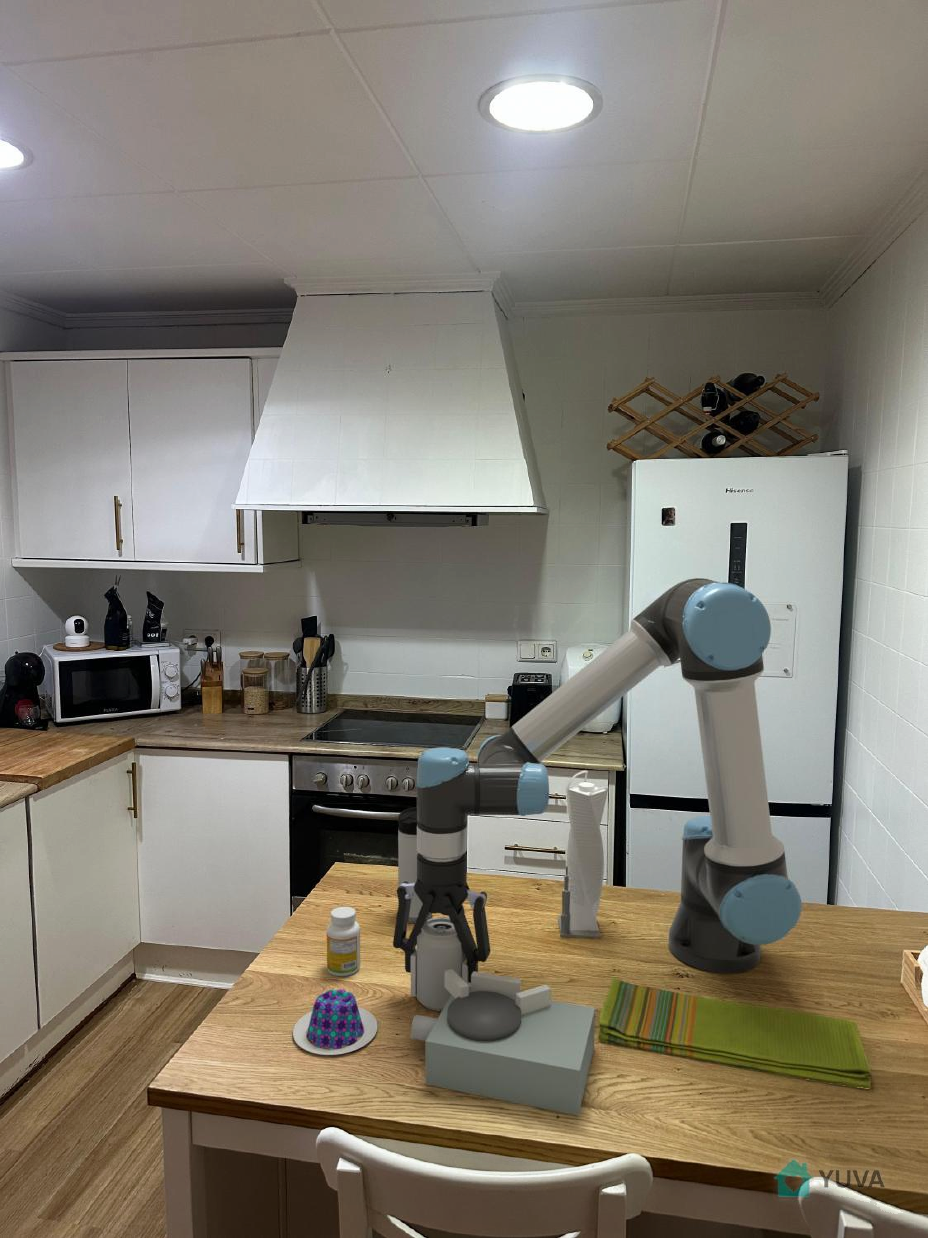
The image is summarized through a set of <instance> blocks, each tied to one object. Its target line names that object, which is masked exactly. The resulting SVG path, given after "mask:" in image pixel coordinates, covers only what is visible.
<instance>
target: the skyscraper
mask: <svg viewBox="0 0 928 1238" xmlns="http://www.w3.org/2000/svg"><path fill="white" fill-rule="evenodd" d="M582 774H585V775H584V780H583V781H582V782H579V783H578V785H575V786H573V787H570V786H571V784H572V782H573V780H574V779H575V778H577V777H578V776H579V775H582ZM588 775H589V771H588V770H587V769H586V770H582V771H581V770H580V771H579V772H577V773H575V774H574V775H573V776H572V777H571V778H570V780H569V781H568V783H567V786H566V788H565V790H566V791H565V792H566V802H567V811H568V819H569V826H570V829H569V833H568V839H567V840H568V842H567V849H566V851H567V852H566V865H565V874H564V877H563V878H564V881H563V882H564V887H563V888H562V891H561V892H562V893H561V894H562V895H561V912H560V916H559V915H557V920H558V928H559V935H560V937H561V938H585V939H587V938H588V939H601V932H600V928H599V923H598V920H597V917H598V912H599V908H600V901H601V896H602V891H603V882H604V872H605V871H604V868H605V862H604V861H605V859H604V857H605V856H604V843H603V836H602V832H601V828H600V827H601V823H602V819H603V816H604V815H603V814H604V810H605V807H606V806H605V805H606V800H607V797H608V794H609V793H608V792H609V787H608V786H602V787H601V786H600V787H598V786H595V784H594V783H592V782H587V779H588Z"/></svg>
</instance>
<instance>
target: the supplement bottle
mask: <svg viewBox="0 0 928 1238" xmlns="http://www.w3.org/2000/svg"><path fill="white" fill-rule="evenodd" d="M356 915H357V913H356V909H354V908H353V907H351V906H339V907H336V908H334V909H332V910H331V912H330V923H329V924H328V925H327V927H326V968H327V971H328V972H329V973H330V974H331V975H333V976H335V977H347V976H352V975H354V974H355V973H358V971H359V970H360V969H361V927H360V924H359V922H357V921H356V920H357V919H356V918H357V916H356Z"/></svg>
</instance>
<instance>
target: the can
mask: <svg viewBox="0 0 928 1238" xmlns="http://www.w3.org/2000/svg"><path fill="white" fill-rule="evenodd" d="M416 948H417V995H416V998H417V1000H418V1002H419V1003H421V1004H422V1005H423V1006H424V1007H426V1008H427V1009H429V1010H432V1011H434V1012H435V1011H436V1012H442V1010H443V1009H444V1007H445V1005H446V1003H447V1001H448V1000H449V998H450V996H451V994H450V993H449V992H448V991H447V989H446V988H445V987H444V986H445V971H446V970H450V969H453V970H454V971H455V972H456V973H457V974H458V975H459V976H460V977H461V978H462V963H463V962H464V960H465V958H466V957H465V954H464V952H463V949H462V946H461V942H460V941H459V938H458V936H457V933H456V930H455V928H454V925H453V923H451V921H450V918H449V917H433V918H432V917H431V918H430V919H429V920H427V921H426V922H425V924H424V925H423V927H422V928H421V932H420V933H419V935H418V936H417V945H416Z"/></svg>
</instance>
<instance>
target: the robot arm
mask: <svg viewBox="0 0 928 1238" xmlns="http://www.w3.org/2000/svg"><path fill="white" fill-rule="evenodd" d="M629 625H630V627H629V630H628V631H626V633H624V634H623V635H622V636H620V637H619V638H617V640H616V641H614V642H613V643H612V644H611V645H610V646H608V647H607V648H606V649H605V650H604V651H602V652H601V653H599V654H598V655H597V656H596V657H594V659H592V660H591V661H590V662H589V663H588V664H586V665H585V666H584V667H583V668H582V669H580V670H579V671H578V672H576V673H575V674H574V675H573V676H572V677H570V678H569V679H568V680H567V681H566V682H564V683H563V684H561V686H560V687H558V688H557V689H556V690H554V691H553V692H552V693H550V694H549V696H547V697H546V698H545V699H543V701H541V702H540V703H539V704H537V705H536V706H535V707H533V708H532V709H531V710H530V711H529V712H527V714H526V715H524V716H523V717H522V718H520V719H519V720H518V721H517V722H516V723H514V724H513V725H512V726H511V727H509V728H508V729H507V730H506V731H504V732H503V733H501V734H497V735H493V736H490V737H488V738H487V739H485V740H484V741H483V742H482V743H481V745H480V747H479V750H478V752H477V761H476V763H470V761H469V759H468V754H467V753H466V752H465V751H464V750H462V749H460V748H459V749H458V748H451V747H434V748H433V747H432V748H430V749H427V750H425V751H423V752H422V753H421V754H420V755H419V756H418V759H417V770H416V771H417V774H416V807H417V851H418V852H419V853H418V854H417V881H416V883H411V884H409V883H408V882H407V881H404V882H403V883H402V884H401V885H400V886H399V887H397V888H396V895H397V899H398V900H397V901H399V905H397V911H396V921H395V926H394V927H395V928H394V933H393V941H392V946H393V948H395V949H396V950H397V949H401V951H403V952H404V970H405V972H406V973H409V974H410V997H412V998H413V997H414V998H415V997H416V998H417V936H418V935H419V933H420V932H421V928H422V927H423V925H424V924H425V922H426V921H427V919H428V917H429V914H430V913H432V915H433V914H434V915H435V914H441V915H443V916H447V917H448V918H450V921H451V923H453V925H454V928H455V930H456V933H457V936H458V938H459V941H460V942H461V946H462V949H463V952H464V954H465V957H466V958H465V960H464V962H463V963H462V979H463V980H464V981H465V982H466V983H467V985H468V986H469V987H471V975H472V973H473V971H475V972H479V963H480V962H481V963H485V962H486V961H487V959H488V958H489V956H490V954H491V945H490V935H489V930H488V929H489V928H488V921H487V914H486V913H487V912H486V903H487V899H488V894H487V892H486V891H480V892H476V891H472V890H470V887H469V885H468V881H467V879H468V877H467V876H468V871H467V869H468V854H467V853H466V852H467V849H468V816H520V817H525V816H531V815H532V816H533V815H542V814H544V813H545V812H546V811H547V810H548V807H549V801H550V781H549V775H548V774H549V773H548V769H547V768H546V766H545V765H544V764H542V762H543V761H544V760H546V759H547V758H548V757H549V756H551V755H552V754H553V753H555V752H556V751H557V750H558V749H559V748H561V746H563V745H564V744H566V742H568V741H569V740H570V739H572V738H573V737H574V736H575V735H577V734H578V733H579V732H580V731H582V730H583V729H584V728H585V727H586V726H588V725H589V724H590V723H591V722H592V721H594V720H595V719H596V718H597V717H599V716H600V715H601V714H603V713H604V712H605V711H606V710H608V709H609V708H610V707H611V706H612V705H614V704H615V703H616V702H617V701H619V700H620V699H622V698H623V696H625V695H626V694H627V693H629V691H632V690H633V688H634V687H636V686H637V685H639V683H640V682H642V681H643V680H645V679H646V678H647V677H648V676H650V675H651V674H652V673H653V672H655V671H656V670H657V669H658V668H660V667H663V666H664V667H671V666H672V665H674V663H675V662H677V661H678V660H679V662H680V669H681V677H682V679H683V680H684V681H686V682H687V683H688V684H690V685H691V686H692V687H693V689H694V696H695V702H696V703H695V704H696V710H697V719H698V720H697V722H698V729H699V737H700V745H701V752H702V754H701V755H702V759H703V760H702V761H703V768H704V775H705V776H704V778H705V783H706V784H705V785H706V794H707V801H708V808H709V815H705V816H696V817H692V818H690V819H689V820H688V819H687V821H686V822H685V824H684V826H683V834H682V836H681V840H682V853H681V854H682V856H681V859H682V860H681V880H680V881H681V882H680V883H681V884H680V902H679V905H678V908H677V910H676V912H675V915H674V918H673V920H672V922H671V925H670V927H669V930H668V931H669V932H668V948H669V951H670V952H671V953H672V955H673V956H674V957H676V958H677V959H678V960H680V961H681V962H683V963H685V964H686V965H689V966H690V967H693V968H696V969H699V970H703V971H707V972H712V973H721V974H737V973H743V972H747V971H749V969H750V970H752V969H753V968H755V967H756V966H758V965H759V963H760V961H761V953H762V951H761V950H762V946H763V945H769V944H773V943H775V942H778V941H780V940H781V939H783V938H785V937H786V936H788V935H789V932H791V930H793V929H794V928H795V927H796V926H797V924H798V922H799V920H800V919H801V915H802V910H803V909H802V907H803V905H802V903H803V902H802V898H801V895H800V892H799V891H798V888H797V887H796V885H795V883H794V882H793V881H792V880H790V878H789V876H788V870H787V860H786V859H787V858H786V852H785V846H784V843H783V842H782V841H781V840H780V839H778V838H777V837H776V836H774V835H773V833H772V824H771V815H770V814H771V813H770V807H769V799H768V798H769V797H768V789H767V781H766V780H767V779H766V771H765V764H764V763H765V762H764V756H763V747H762V746H763V745H762V737H761V730H760V729H761V728H760V720H759V711H758V703H757V702H758V701H757V695H756V694H757V693H756V686H755V685H756V683H755V682H756V680H758V678H759V677H760V676H761V675H762V674H763V672H764V671H765V668H764V667H765V666H764V661H763V660H764V657H763V653H764V652H765V650H766V649H767V648H768V645H769V644H770V643H769V642H770V639H771V635H772V634H771V633H772V630H771V629H772V626H771V621H770V616H769V613H768V611H767V609H766V607H765V605H764V604H763V603H762V601H761V600H760V599H759V598H758V597H756V595H755V594H753V593H752V592H750V591H748V590H747V589H745V587H744V588H743V587H741V586H739V585H738V584H735V583H731V582H721V581H715V580H711V579H708V578H697V577H696V578H695V577H693V578H688V579H685V580H683V581H681V582H678V583H676V584H675V585H673V586H672V587H670V588H668V589H667V590H666V591H665V592H664V593H662V594H661V595H659V597H657V598H656V599H655V600H654V601H653V602H652V603H650V604H649V605H648V606H647V607H645V608H644V609H643V610H642V611H641V612H640V613H638V615H637V616H635V617H634V618H632V619H631V620H630V624H629ZM414 892H415V893H416V894H417V896H418V897H419V899H420V900H421V902H422V904H423V905H422V907H421V909H420V912H419V914H418V917H417V920H416V922H415V923H413V924H414V925H413V927H412V929H411V931H410V935H409V936H408V937H407V931H408V925H409V922H408V919H409V912H410V905H411V898H412V896H413V895H414ZM466 900H468V901H469V905H470V908H471V909H473V910H472V917H473V927H474V933H475V934H474V935H475V939H474V935H473V933H472V930H471V927H470V925H469V923H468V920H467V917H466V913H465V908H464V905H463V903H464V902H465V901H466ZM761 945H762V946H761Z"/></svg>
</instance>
